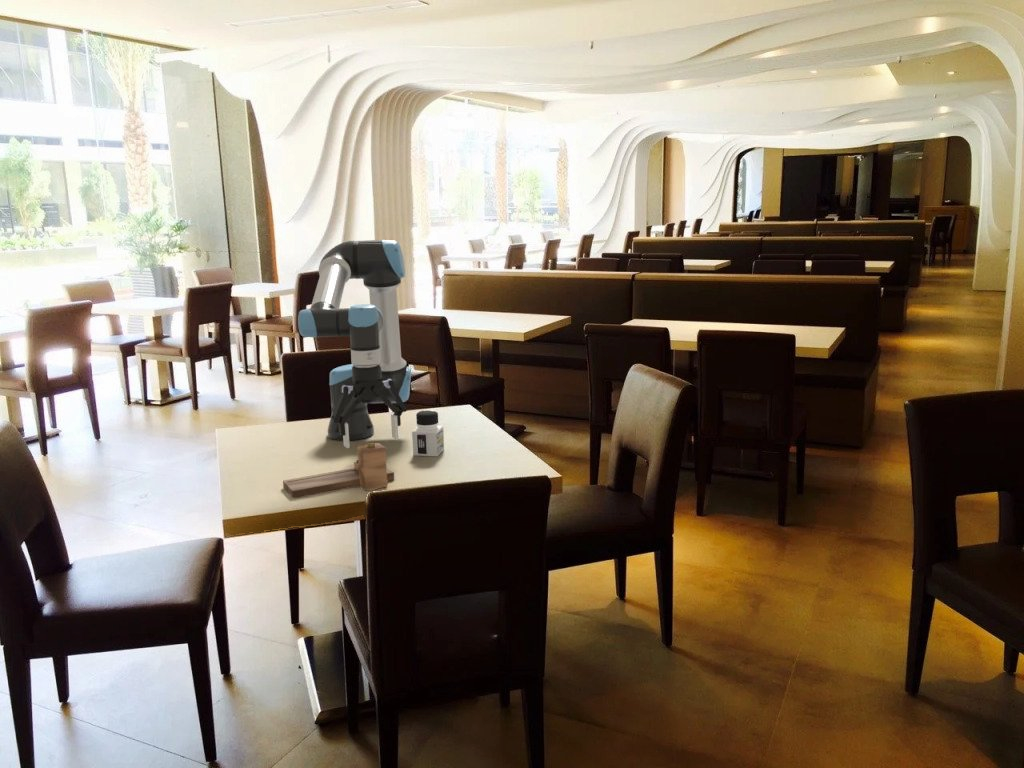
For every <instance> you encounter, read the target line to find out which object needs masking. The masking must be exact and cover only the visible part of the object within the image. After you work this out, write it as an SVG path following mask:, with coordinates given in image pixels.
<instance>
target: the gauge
mask: <svg viewBox="0 0 1024 768" xmlns="http://www.w3.org/2000/svg"><path fill="white" fill-rule="evenodd" d="M356 447H357V449H356V450H357V459H356V461H354V462H353V464H354V466H353V468H355V469H356V470H357V471H358V472H359V481H360V486H359V487H361V488H362V489H363V490H364V491H371V490H370V489H372V490H377V489H376V488H378V489H382V488H387V487H388V481H387V470H386V467H387V455H386V453H387V452H386V446H384V445H383V444H381V443H379V442H369V443H367V444H364V445H357V446H356Z"/></svg>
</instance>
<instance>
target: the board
mask: <svg viewBox="0 0 1024 768" xmlns="http://www.w3.org/2000/svg"><path fill="white" fill-rule="evenodd" d="M386 470H387V482H389V481H393V480H395V471H393V470H391V469H390V468H388V467H387V466H386ZM282 483H283V484H282V486H283V487H282V488H283V489H284V490H285V491H286V492H287V493H288V494H289V495H290V497H291V498H292V499H297V498H301V497H308V496H313V495H317V494H322V493H324V494H325V493H329V492H334V491H339V490H345V489H349V488H350V489H351V488H355V487H361V486H360V481H359V472H358V471H357V470H356V469H355V468H354V467H353V468H347V469H342V470H336V471H335V470H334V471H330V472H323V473H318V474H313V475H308V476H302V477H297V478H296V477H295V478H291V479H283V480H282Z"/></svg>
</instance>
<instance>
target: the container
mask: <svg viewBox="0 0 1024 768" xmlns="http://www.w3.org/2000/svg"><path fill="white" fill-rule="evenodd" d="M415 415H416V417H415V418H416V428H415V429H413V430H412V432H411V439H412V451H413V452H412V455H413V456H414V457H415V456H416V457H418V456H419V457H422V456H423V457H438V456H439V455H440V454H441V453H442V452H443V451H445V443H444V442H445V439H444V438H445V436H444V426H443V425H439V414H438V411H436V410H433V409H424V410H420V411H418V412H417V413H416V414H415Z"/></svg>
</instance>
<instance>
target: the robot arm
mask: <svg viewBox="0 0 1024 768" xmlns="http://www.w3.org/2000/svg"><path fill="white" fill-rule="evenodd" d="M318 275H319V279H318V281H317V283H316V288H315V291H314V294H313V295H314V296H313V298H312V302H311V305H310V308H307V309H302V310H299V312H298V315H297V325H298V331H299V334H300V336H302V337H304V338H314V339H315V338H329V337H330V338H331V337H332V338H333V337H349V339H350V341H349V342H350V356H351V357H350V359H351V364H350V363H349V364H345V365H341V366H338V367H336V368H333V369H332V370H331V371H330V372H329V383H328V385H329V392H330V405H331V416H330V420H329V424H328V426H327V427H328V428H327V437H328V439H331V440H336V441H343V446H344V447H345V448H346V449H350V441H355V440H361V439H362V440H363V439H366V438H369V437H372V436H373V435H374V434H375V426H374V424H373V421H372V419H371V416H370V414H369V412H368V404H384V405H386V406H387V407H388V408H389V410H390V411H392V412H393V413H391V414H390V422H391V423H390V424H391V425H390V426H391V438H393V439H394V440H399V427H401V424H402V422H401V421H402V420H401V416H402V415H403V413H405V412H407V411H408V409H407V407H406V405H405V403H406V402H407V401H408V400H409V397H410V391H411V378H412V367H410V366H407V360H405V359H404V358H403V357H402V349H401V348H402V346H401V334H400V320H399V306H398V292H397V288H398V287H399V286H400V284H401V283H402V279H403V278H405V277H406V269H405V260H404V255H403V251H402V247H401V245H400V243H399V241H397V240H391V239H390V240H389V239H386V240H385V239H371V240H370V239H369V240H347V241H343V242H341V243H339V244H337V245H335V246H334V247H332V248H331V249H330V250H328V252H327V253H325V254H324V256H322V258H321V260H320V262H319V265H318ZM353 279H356V280H358V279H359V280H362V279H363V282H362V283H363V286H364V287H365V288H367V289H368V292H369V295H368V296H369V304H368V303H367V304H355V305H351V306H350V307H349V308H348V307H347V308H342V307H341V308H340V306H341V302H342V297H343V293H344V289H345V285H346V283H347V282H349V280H353ZM394 404H396V405H397V407H396V405H394Z"/></svg>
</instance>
